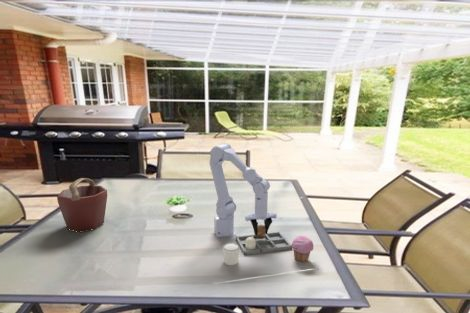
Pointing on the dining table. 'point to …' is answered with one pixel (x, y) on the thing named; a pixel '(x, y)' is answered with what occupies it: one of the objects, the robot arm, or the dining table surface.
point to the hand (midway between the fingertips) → (260, 233)
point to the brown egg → (261, 232)
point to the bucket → (83, 205)
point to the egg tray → (265, 243)
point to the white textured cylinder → (231, 253)
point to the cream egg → (250, 243)
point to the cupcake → (302, 248)
